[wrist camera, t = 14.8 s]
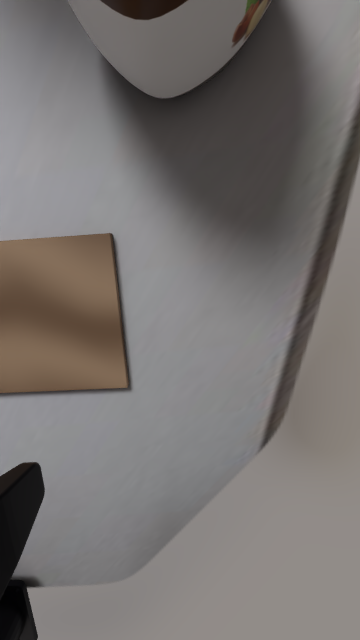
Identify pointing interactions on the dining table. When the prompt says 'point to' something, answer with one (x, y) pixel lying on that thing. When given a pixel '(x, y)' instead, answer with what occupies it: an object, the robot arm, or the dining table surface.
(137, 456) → the dining table surface
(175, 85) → the spread jar
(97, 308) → the walnut pad
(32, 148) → the dining table surface
